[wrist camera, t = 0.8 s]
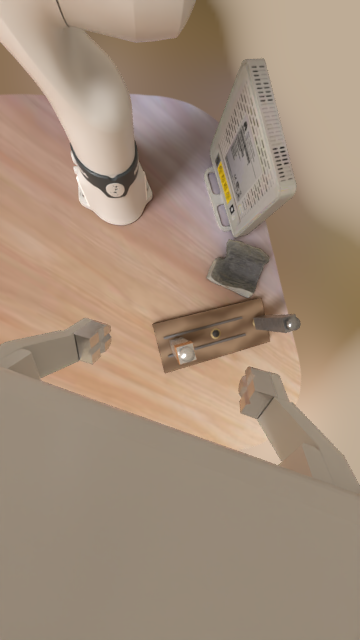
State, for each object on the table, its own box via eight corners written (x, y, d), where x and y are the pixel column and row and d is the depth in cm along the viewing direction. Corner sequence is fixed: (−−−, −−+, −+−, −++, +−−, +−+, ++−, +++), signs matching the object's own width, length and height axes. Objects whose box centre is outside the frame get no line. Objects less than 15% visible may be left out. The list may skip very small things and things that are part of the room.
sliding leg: (168, 339, 46) (176, 348, 33) (181, 336, 46) (194, 343, 34) (171, 353, 46) (180, 366, 33) (184, 349, 47) (198, 361, 34)
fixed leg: (251, 317, 51) (286, 317, 38) (261, 315, 51) (299, 314, 39) (253, 329, 51) (289, 333, 38) (263, 326, 52) (302, 329, 39)
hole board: (152, 324, 47) (152, 324, 45) (257, 298, 53) (262, 297, 51) (164, 371, 48) (165, 374, 46) (265, 340, 54) (271, 341, 52)
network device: (247, 237, 53) (307, 190, 33) (223, 244, 51) (270, 198, 31) (224, 154, 51) (273, 51, 31) (198, 158, 49) (231, 53, 29)
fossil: (264, 259, 54) (273, 255, 50) (245, 302, 53) (252, 301, 49) (224, 234, 51) (230, 228, 48) (203, 279, 50) (208, 276, 47)
